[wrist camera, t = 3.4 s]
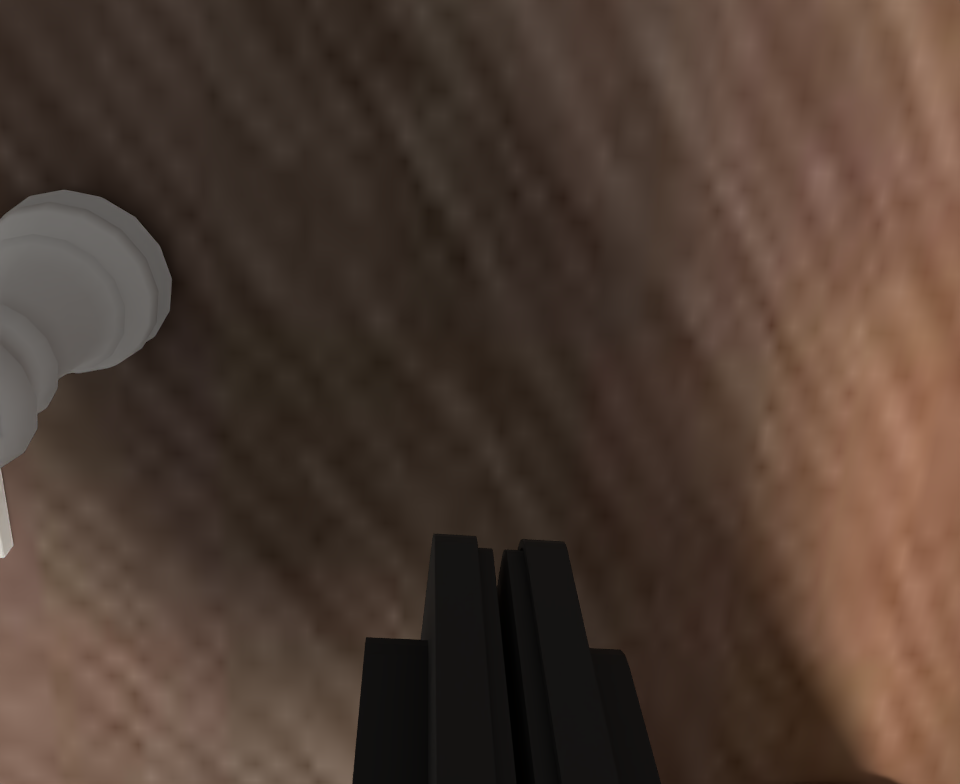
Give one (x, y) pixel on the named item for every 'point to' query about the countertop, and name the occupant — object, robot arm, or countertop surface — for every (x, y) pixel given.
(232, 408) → the countertop surface
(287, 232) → the countertop surface
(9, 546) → the mat
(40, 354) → the rook chess piece
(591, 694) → the robot arm
